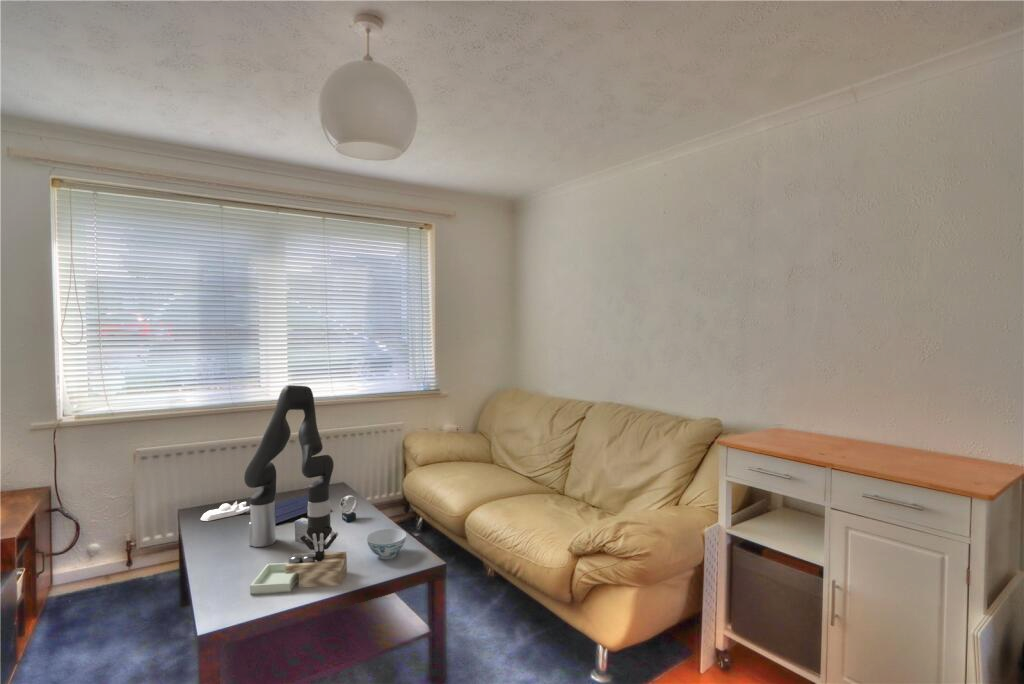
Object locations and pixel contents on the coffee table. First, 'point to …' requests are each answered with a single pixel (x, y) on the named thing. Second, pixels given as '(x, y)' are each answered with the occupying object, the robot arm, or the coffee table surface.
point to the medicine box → (301, 529)
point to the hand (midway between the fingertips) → (320, 560)
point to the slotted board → (321, 570)
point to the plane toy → (225, 511)
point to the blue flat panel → (290, 508)
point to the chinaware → (386, 542)
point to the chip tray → (274, 580)
